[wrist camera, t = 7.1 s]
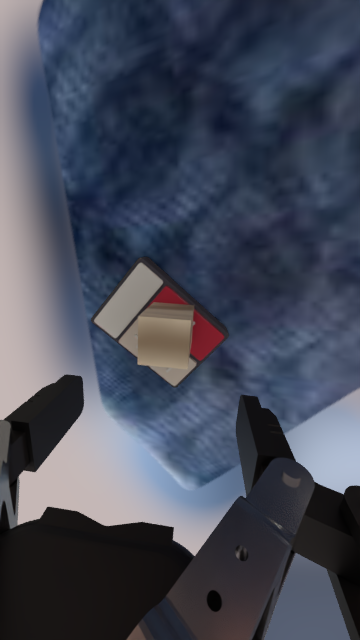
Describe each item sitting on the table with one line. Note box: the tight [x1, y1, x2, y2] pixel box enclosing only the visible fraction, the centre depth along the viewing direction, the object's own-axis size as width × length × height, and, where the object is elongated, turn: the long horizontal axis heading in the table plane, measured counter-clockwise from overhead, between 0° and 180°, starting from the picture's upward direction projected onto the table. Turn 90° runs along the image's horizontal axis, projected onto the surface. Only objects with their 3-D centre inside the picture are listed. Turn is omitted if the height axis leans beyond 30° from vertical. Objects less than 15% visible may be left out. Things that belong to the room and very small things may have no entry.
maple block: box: [138, 302, 194, 369], centre depth 26 cm, size 5×5×7 cm
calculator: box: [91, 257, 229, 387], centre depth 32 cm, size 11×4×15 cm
